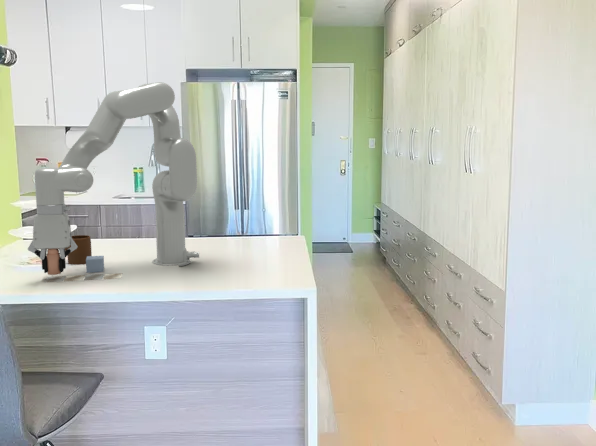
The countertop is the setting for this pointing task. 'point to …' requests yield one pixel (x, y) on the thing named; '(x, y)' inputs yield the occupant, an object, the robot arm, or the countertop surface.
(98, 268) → the light blue cube
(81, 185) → the robot arm
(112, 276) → the track
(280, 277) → the countertop surface
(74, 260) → the mug
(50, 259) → the pawn
